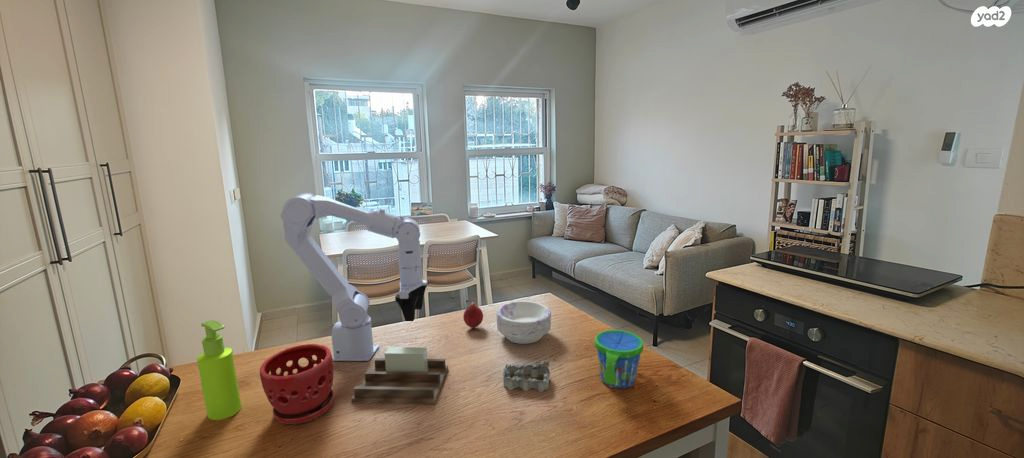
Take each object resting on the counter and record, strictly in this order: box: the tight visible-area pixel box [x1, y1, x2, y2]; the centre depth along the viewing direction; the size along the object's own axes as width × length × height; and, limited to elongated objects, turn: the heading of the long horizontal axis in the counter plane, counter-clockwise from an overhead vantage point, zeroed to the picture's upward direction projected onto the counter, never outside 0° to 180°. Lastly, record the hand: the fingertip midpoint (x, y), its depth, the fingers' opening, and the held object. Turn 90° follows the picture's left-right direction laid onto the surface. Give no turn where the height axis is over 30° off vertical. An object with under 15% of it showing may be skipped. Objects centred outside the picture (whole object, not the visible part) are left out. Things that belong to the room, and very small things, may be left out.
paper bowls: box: [496, 300, 552, 345], centre depth 119 cm, size 15×15×8 cm
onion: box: [463, 301, 484, 329], centre depth 125 cm, size 6×6×8 cm
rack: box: [350, 357, 449, 405], centre depth 97 cm, size 18×14×3 cm
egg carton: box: [502, 360, 551, 392], centre depth 97 cm, size 11×8×4 cm
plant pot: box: [259, 343, 335, 425], centre depth 87 cm, size 13×13×12 cm
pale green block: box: [384, 346, 428, 372], centre depth 99 cm, size 9×3×6 cm, turn 87°
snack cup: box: [594, 329, 644, 389], centre depth 96 cm, size 16×10×10 cm
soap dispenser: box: [196, 319, 242, 421], centre depth 86 cm, size 6×7×20 cm
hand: (413, 314), depth 113 cm, fingers open, 7 cm apart
